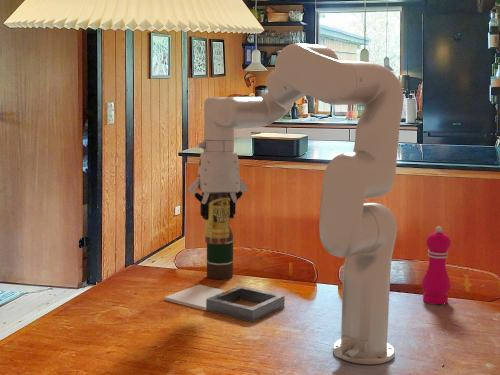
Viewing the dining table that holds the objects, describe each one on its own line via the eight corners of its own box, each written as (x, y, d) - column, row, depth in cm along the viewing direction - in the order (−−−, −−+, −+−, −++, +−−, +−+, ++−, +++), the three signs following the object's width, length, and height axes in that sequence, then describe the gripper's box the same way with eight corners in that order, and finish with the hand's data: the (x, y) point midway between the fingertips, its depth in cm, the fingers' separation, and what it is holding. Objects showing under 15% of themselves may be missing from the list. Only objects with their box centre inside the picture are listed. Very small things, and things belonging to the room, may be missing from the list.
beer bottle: (222, 271, 198) (222, 192, 194) (238, 277, 192) (239, 196, 188) (201, 275, 193) (201, 195, 189) (217, 281, 187) (217, 198, 183)
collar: (252, 322, 154) (252, 308, 153) (206, 310, 162) (206, 297, 161) (284, 307, 165) (284, 294, 165) (239, 296, 173) (239, 284, 173)
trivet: (206, 310, 162) (206, 307, 162) (164, 299, 170) (164, 296, 170) (239, 296, 173) (239, 293, 173) (198, 287, 181) (198, 284, 181)
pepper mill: (415, 301, 171) (419, 226, 169) (430, 295, 176) (433, 222, 174) (440, 307, 166) (444, 230, 163) (454, 301, 171) (459, 226, 168)
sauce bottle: (213, 247, 162) (213, 167, 159) (200, 242, 167) (199, 164, 164) (235, 243, 166) (235, 165, 163) (221, 238, 171) (221, 163, 168)
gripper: (188, 149, 157) (188, 222, 159) (256, 148, 162) (255, 219, 165) (181, 146, 164) (181, 216, 166) (246, 145, 169) (245, 213, 172)
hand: (217, 217), depth 166 cm, fingers closed on sauce bottle, 6 cm apart
